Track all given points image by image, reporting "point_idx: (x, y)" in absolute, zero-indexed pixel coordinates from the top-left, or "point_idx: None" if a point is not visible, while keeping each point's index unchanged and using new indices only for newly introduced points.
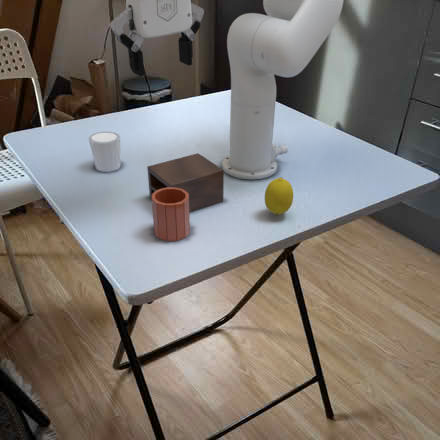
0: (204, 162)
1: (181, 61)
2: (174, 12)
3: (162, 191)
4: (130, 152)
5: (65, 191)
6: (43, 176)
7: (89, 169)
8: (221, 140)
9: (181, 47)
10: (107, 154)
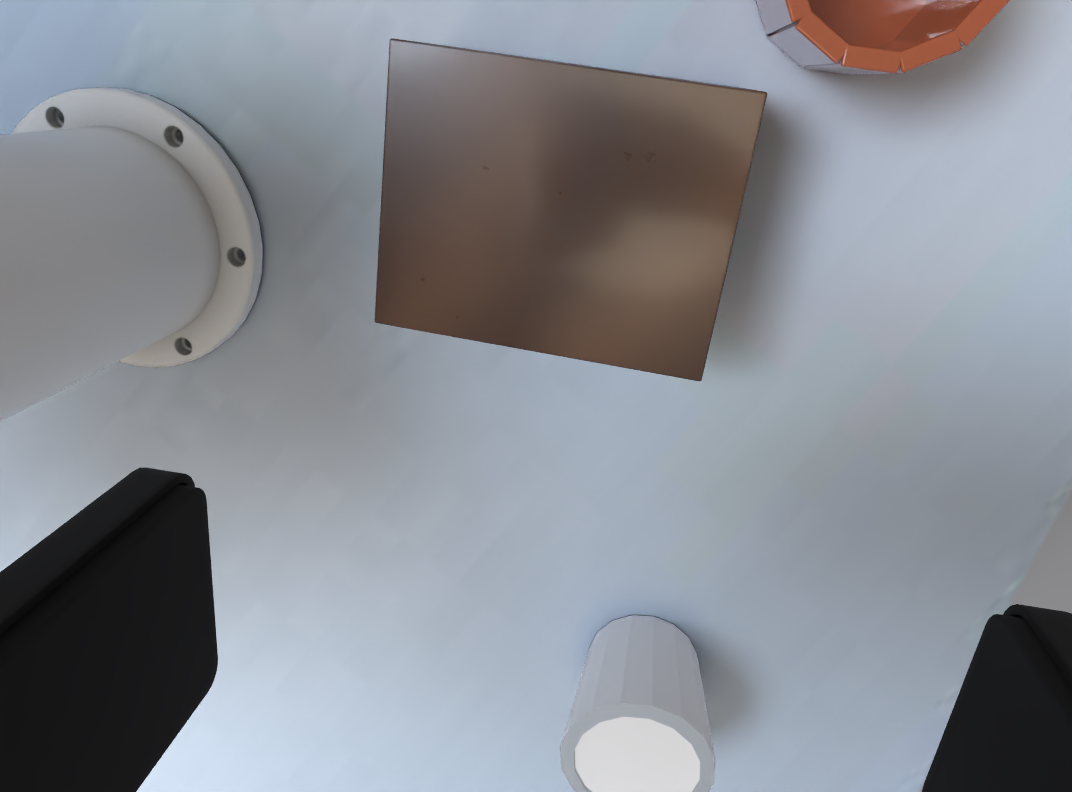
0: (419, 202)
1: (210, 643)
2: None
3: (875, 49)
4: (488, 689)
5: (929, 614)
6: (901, 763)
7: (719, 689)
8: None
9: (84, 784)
10: (672, 675)
